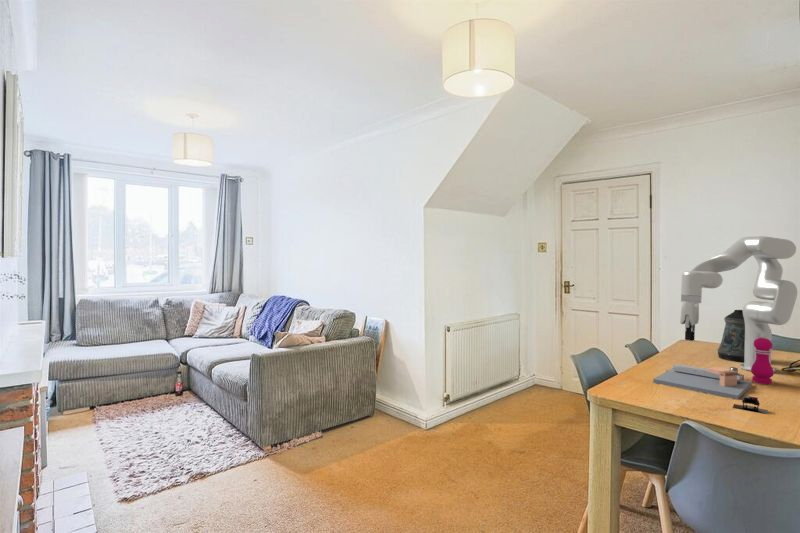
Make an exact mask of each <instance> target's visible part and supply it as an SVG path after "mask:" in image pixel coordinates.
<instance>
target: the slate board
mask: <svg viewBox="0 0 800 533" xmlns="http://www.w3.org/2000/svg"><path fill="white" fill-rule="evenodd" d="M652 382H653V384H654V383H655V384H659V385H664V386H669V387H674V388H678V389H682V390H688V391H693V392H699V393H703V394H707V395H712V396H718V397H723V398H729V399H733V400H739V399H740V398H741V397H742V396H743V395H744V394H745V393H746V392H747V391H748V390H749V389H750V388H751V387H752V383H753V381H750V380H745V379H744V381H743V382H742V383H740V382H737V385H735V386H722V385H720V379H718V378H712V377H707V376H701V375H695V374H690V373H684V372H678V371H673V367H672V368H671V369H669V370H667V371H665V372H663V373H661V374H659V375H658V376H656V377H654V378H653V379H652ZM750 386H751V387H750Z"/></svg>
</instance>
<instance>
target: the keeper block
mask: <svg viewBox="0 0 800 533" xmlns="http://www.w3.org/2000/svg"><path fill="white" fill-rule="evenodd" d="M707 369H708V372H711V373H715V374H718V375H720V385H722V386H735V385H737V372H736V371H732V370H730V368H729V369H728V368H725V367H720V366H718V367H717V366H714V367H707Z"/></svg>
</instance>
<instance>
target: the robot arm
mask: <svg viewBox="0 0 800 533" xmlns="http://www.w3.org/2000/svg"><path fill="white" fill-rule="evenodd" d="M796 251H797V245H796V244H795V243H794V242H793V241H792V240H789V239H786V238H780V237H779V238H778V237H772V236H764V235H761V236H744V237H742V238H739V239H737V240H736V241H735V242H734V243H732V245H731V246H729V247H728V248H727V249H726V250H725V251H724V250H723V252H722V253H720V254H719V255H715V256H713V257H711V258H709V259H707V260H705V261H702V262H700V263H699V264H697V265H696V266H695V267H694V268H692V269H691V270H689V271H683V272H682V274H681V290H680V291H681V293H680V294H681V295H680V302H681V303H682V304H681V309H680V321H679V323H680V324H681V325H684V328H685V329H684V340H685V341H690V342H693V341H695V331H696V325H697V324H699V320H700V319H699V318H700V304H702V299H703V298H702V296H703V294H702V293H703V289H716V288H719V287H720V286H722V284H723V281H724V280H723V276H722V274H720V273H722V272H727V271H731V270H735V269H737V268H739V267H740V266H741V265H742V264H743V263H745V262H746V261H747V260H748V259H749V258H751V257H752V256H753V257H754V259H755V260H756V263H757V265H758V271H757V274H756V278H755V282H754V286H753V289H752V294H753V296H754V297H755V298H756V299H760V300H766V301H759V300H758V301H757V300H753V301H748V302H747V303H745V304H744V305H743V307H742V310H743V317H744V322H745V350H744V363H741V364H740V365H739V368H740V369H743V370H745V371H749V372H751V368H752V365H753V364H754V362H755V360H756V353H755V349H756V348H755V346H754V341H755V340H756V339H758V338H761V337H760V336H761V335H762V334H764V335H765V336H766V339H768V340H770V341H771V342H772V337H773V335H772V328H771V327H770V325H776V326H782V325H783V326H784V325H786V324H787V323H788V322H789V321H790V319H791V317H792V314H793V311H794V307H795V304H796V300H797V297H798V288H797V286H796V284H795V283H794V282H792V281H790V280H787V279H782V276H783V273H784V272H783V271H784V270H783V266H782V265H781V263H780V261H779V259H780V260H787V259H790V258H792V257H794V255H795V254H796ZM768 301H773V302H768ZM770 351H771V352H770V353H771V354H769V362H770V364H771V365H772V348H771V349H770ZM772 368H773V372H774V373H776V369H775V368H774V367H772Z"/></svg>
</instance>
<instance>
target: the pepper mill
mask: <svg viewBox="0 0 800 533" xmlns="http://www.w3.org/2000/svg"><path fill="white" fill-rule="evenodd" d="M760 337H761V338H758V339H756V340H755V341H754V346H755V348H756V349H755V353H756V360H755V362H754V364H753V365H752V368H751V371H750V372H751V374H752V375H753V376H752V377H751V380H752V381H751V382H752V383H756V384H757V383H758V384H762V385H771V384H772V383H773V379H772V377H773V376H774V374H775V372H773V368H774V367H772V363H771V364H770V362H769V354H771V355H772V348H773V342H772V340H771V341H770V340H768V339H766V336H765V335H764V334H762V335H761V336H760ZM770 349H771V351H770ZM770 352H771V353H770Z"/></svg>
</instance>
